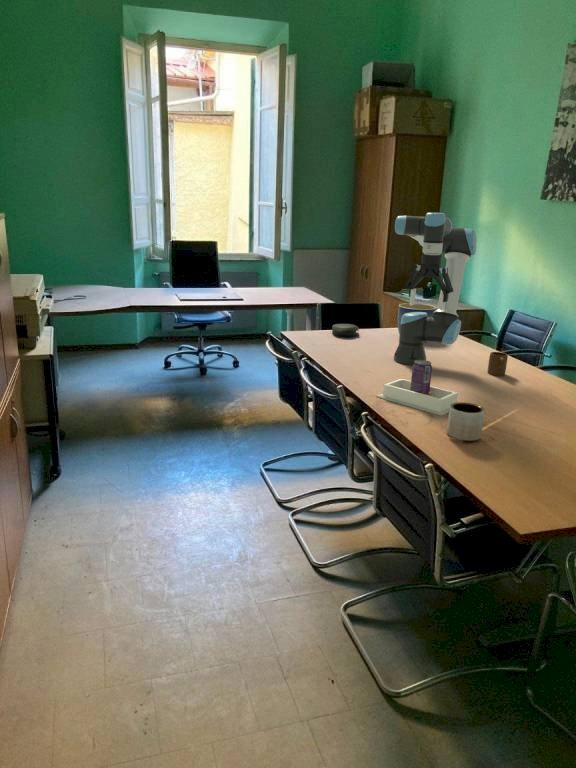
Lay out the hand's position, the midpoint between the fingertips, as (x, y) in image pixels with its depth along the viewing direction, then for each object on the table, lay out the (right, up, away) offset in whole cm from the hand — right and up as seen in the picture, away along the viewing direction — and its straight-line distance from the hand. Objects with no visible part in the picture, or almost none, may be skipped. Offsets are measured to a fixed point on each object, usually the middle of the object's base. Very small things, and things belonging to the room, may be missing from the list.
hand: (426, 307), depth 231 cm
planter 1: (+15, -6, +90) cm, 91 cm away
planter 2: (+1, -48, -45) cm, 66 cm away
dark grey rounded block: (-24, -5, +90) cm, 93 cm away
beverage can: (-6, -34, -15) cm, 38 cm away
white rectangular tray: (-6, -37, -14) cm, 40 cm away
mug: (+38, -27, +25) cm, 53 cm away
